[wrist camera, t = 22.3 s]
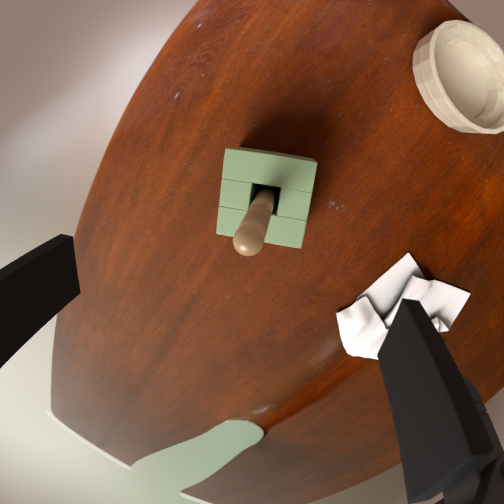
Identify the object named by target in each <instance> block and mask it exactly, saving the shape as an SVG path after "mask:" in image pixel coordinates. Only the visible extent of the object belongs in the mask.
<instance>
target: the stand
mask: <svg viewBox="0 0 504 504" xmlns="http://www.w3.org/2000/svg"><path fill="white" fill-rule="evenodd" d="M316 168H317V162H316V161H315V160H314V159H313V158H308V157H303V156H297V155H291V154H285V153H279V152H273V151H266V150H259V149H252V148H245V147H233V148H226V149H225V157H224V165H223V174H222V178H223V179H222V183H221V192H220V201H219V211H218V221H217V231H216V234H220V235H226V236H231V237H234V234H235V232H236V230H237V228H238V227H239V225H240V223H241V221H242V220H243V218H244V216H245V214H246V213H247V211H248V209H249V207H250V205H251V204H252V202H253V200H254V198H255V197H256V195H257V193H258V186H259V184H264V185H270V186H276V187H281V192H280V198H279V201H276V200H275V203H274V207H273V211H272V214H271V218H270V222H269V225H268V229H267V233H266V237H265V240H264V242H266V243H272V244H277V245H283V246H289V247H294V248H300V249H301V247H302V242H303V237H304V232H305V227H306V222H307V217H308V212H309V207H310V202H311V196H312V191H313V185H314V180H315V174H316Z"/></svg>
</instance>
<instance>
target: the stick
mask: <svg viewBox="0 0 504 504" xmlns="http://www.w3.org/2000/svg"><path fill="white" fill-rule="evenodd" d="M276 196H277V187H276V186H270V185H264V184H263V185H262V186H261V188H260V190H259V191H258V193H257V195H256V197H255V198H254V200H253V202H252V204H251V205H250V207H249V209H248V211H247V213H246V214H245V216H244V218H243V220H242V221H241V223H240V225H239V227H238V228H237V230H236V232H235V234H234V237H233V245H234V247H235V249H236V251H237V252H238V253H240V254H242V255H244V256H253V255H255V254H257V253H258V252H259V251H260V250H261V249H262V247H263V244H264V240H265V237H266V233H267V229H268V225H269V222H270V218H271V214H272V211H273V207H274V203H275V199H276Z"/></svg>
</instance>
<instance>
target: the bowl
mask: <svg viewBox="0 0 504 504" xmlns="http://www.w3.org/2000/svg"><path fill="white" fill-rule="evenodd" d="M412 68H413V72H414V77H415V81H416V85H417V87H418V89H419V91H420V93H421V95H422V97H423V100H424V102H425V103H426V104H427V106H428V107H429V108H430V109H431V111H432V112H433V113H434V115H435V116H436V117H438V118H439V119H440V120H441V121H442V122H444V123H445V124H446V125H447V126H449V127H451V128H453V129H455V130H458V131H460V132H469V133H487V134H497V133H500V132H502V131H504V52H503V50H502V49H501V48H500V46H499V45H498V44H497V42H496V41H494V39H492V38H491V37H490V36H489V35H488V34H487V33H486V32H485V31H483V30H482V29H480V28H478V27H477V26H475V25H473V24H472V23H469V22H465V21H460V20H452V21H446V22H443V23H442V24H440V25H439V26H438V27H436V28H435V29H433V30H432V31H430V32H429V33H428V34H426V35H425V36H424V37H423V38H421V39H420V40H419V41H418V44H417V46H416V48H415V50H414V53H413V67H412Z"/></svg>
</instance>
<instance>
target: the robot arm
mask: <svg viewBox="0 0 504 504" xmlns="http://www.w3.org/2000/svg"><path fill="white" fill-rule="evenodd" d="M80 293H81V292H80V286H79V280H78V274H77V267H76V260H75V252H74V243H73V237H72V236H68V235H64V234H60V235H58V236H56V237H54V238H53V239H51V240H49V241H47V242H45V243H43V244H42V245H40V246H38V247H36V248H35V249H33V250H31V251H29V252H28V253H26V254H24V255H23V256H21V257H19V258H18V259H16V260H14V261H13V262H11V263H10V264H8V265H6V266H5V267H3V268H2V269H0V368H1V367H2V366H3V365H4V364H5V363H6V362H7V361H8V360H9V359H10V358H11V357H12V356H13V355H14V354H15V353H16V352H17V351H18V350H19V349H20V348H21V347H22V346H23V345H24V344H25V343H26V342H27V341H28V340H29V339H30V338H31V337H32V336H33V335H34V334H35V333H36V332H37V331H39V330H40V329H41V328H42V327H43V326H44V325H45V324H46V323H47V322H48V321H49V320H50V319H52V318H53V317H54V316H55V315H56V314H57V313H58V312H59V311H60V310H62V309H63V308H64V307H65V306H66V305H67V304H68V303H69V302H71V301H72V300H73V299H74V298H75V297H76V296H78V295H79V294H80ZM377 357H378V361H379V365H380V368H381V372H382V376H383V379H384V383H385V387H386V391H387V395H388V399H389V403H390V408H391V412H392V416H393V421H394V425H395V430H396V435H397V440H398V445H399V450H400V455H401V461H402V467H403V473H404V479H405V485H406V493H407V500H408V504H411V503H416V502H422V501H426V500H430V499H431V498H433V497H434V496H436V495H437V494H439V493H440V492H442V491H443V496H444V498H443V499H441V500H440V501H438V502H437V503H435V504H504V451H503V449H502V446H501V444H500V441H499V439H498V436H497V433H496V431H495V429H494V426H493V424H492V422H491V419H490V417H489V415H488V413H486V411H487V410H486V408H485V406H484V404H483V403H482V399H481V397H480V395H479V393H478V391H477V389H476V388H475V387H474V385H473V384H472V383H471V382H470V381H469V380H468V379H467V378H463V377H462V375H461V373H460V371H459V369H458V367H457V365H456V363H455V362H454V360H453V358H452V356H451V354H450V352H449V350H448V348H447V347H446V345H445V343H444V341H443V340H442V338H441V336H440V334H439V333H438V331H437V329H436V327H435V326H434V324H433V322H432V321H431V319H430V317H429V316H428V314H427V312H426V311H425V309H424V307H423V306H422V304H421V303H420V301H419V300H412V299H405V298H402V300H401V302H400V305H399V307H398V310H397V312H396V314H395V317H394V319H393V321H392V324H391V326H390V328H389V330H388V333H387V335H386V337H385V339H384V341H383V343H382V345H381V347H380V349H379V351H378V354H377Z"/></svg>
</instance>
